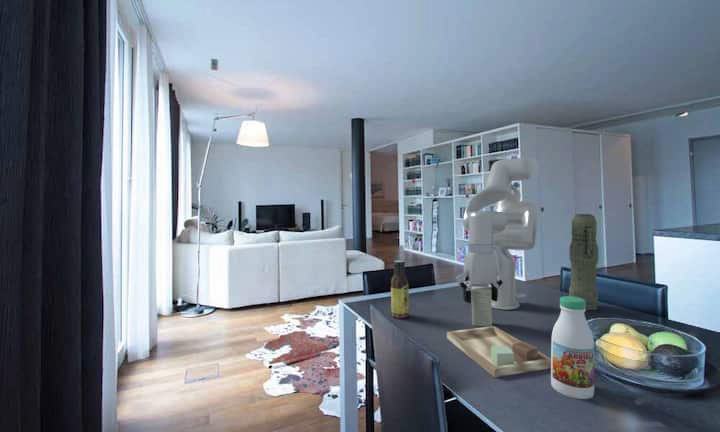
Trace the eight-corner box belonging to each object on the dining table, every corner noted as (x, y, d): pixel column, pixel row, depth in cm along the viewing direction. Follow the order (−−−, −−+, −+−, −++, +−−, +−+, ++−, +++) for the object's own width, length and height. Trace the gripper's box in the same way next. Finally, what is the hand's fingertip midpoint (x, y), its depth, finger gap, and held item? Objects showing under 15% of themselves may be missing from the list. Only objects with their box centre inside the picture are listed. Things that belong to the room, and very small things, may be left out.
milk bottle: (543, 382, 72) (543, 294, 72) (575, 379, 73) (576, 292, 72) (568, 403, 65) (568, 305, 64) (603, 400, 65) (605, 303, 65)
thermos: (587, 302, 127) (588, 213, 125) (605, 312, 115) (606, 214, 113) (562, 301, 128) (563, 213, 126) (578, 312, 116) (579, 215, 115)
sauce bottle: (408, 319, 112) (407, 263, 111) (390, 318, 113) (389, 262, 113) (409, 313, 119) (408, 259, 118) (392, 312, 120) (391, 259, 119)
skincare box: (491, 322, 108) (491, 286, 107) (492, 327, 104) (492, 290, 103) (471, 320, 110) (471, 285, 109) (471, 325, 106) (471, 289, 105)
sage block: (506, 361, 81) (506, 345, 80) (514, 369, 77) (514, 353, 76) (490, 361, 81) (490, 346, 81) (497, 370, 77) (497, 353, 77)
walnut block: (523, 356, 83) (523, 341, 83) (537, 363, 79) (537, 348, 79) (512, 360, 81) (512, 344, 81) (526, 367, 78) (526, 351, 77)
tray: (494, 333, 99) (494, 325, 99) (553, 369, 77) (553, 359, 77) (447, 340, 95) (446, 331, 95) (494, 379, 74) (494, 369, 74)
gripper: (496, 247, 111) (496, 296, 111) (451, 248, 107) (450, 299, 107) (511, 250, 104) (511, 302, 104) (463, 251, 100) (463, 306, 100)
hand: (480, 301), depth 106 cm, fingers open, 9 cm apart
